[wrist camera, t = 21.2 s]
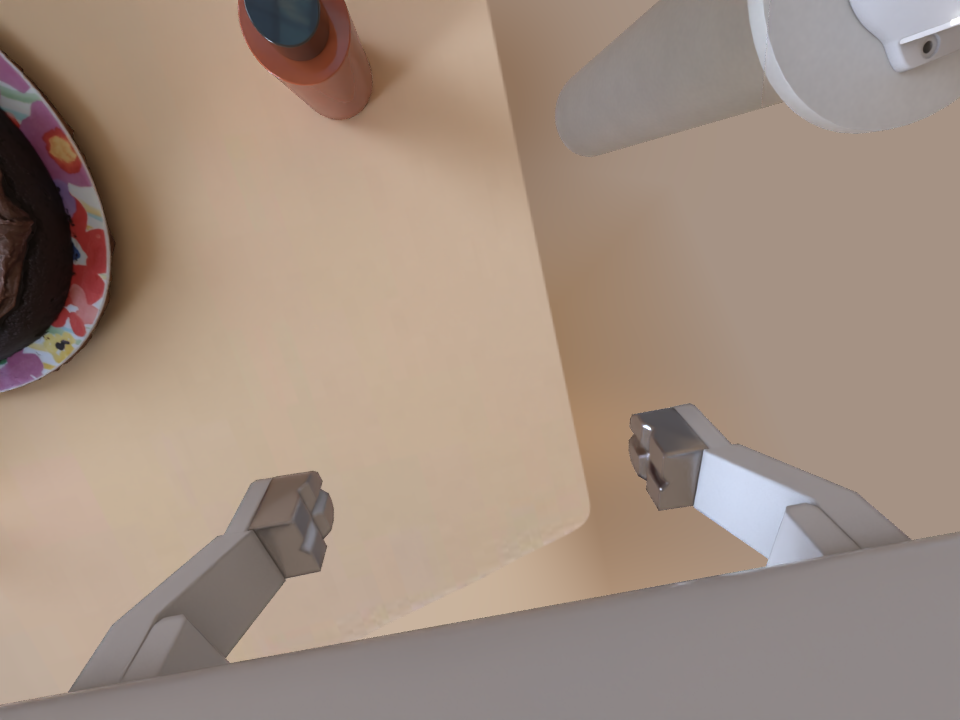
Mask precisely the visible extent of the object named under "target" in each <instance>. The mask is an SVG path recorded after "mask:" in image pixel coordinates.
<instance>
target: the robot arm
mask: <svg viewBox="0 0 960 720" xmlns="http://www.w3.org/2000/svg"><path fill="white" fill-rule="evenodd" d="M849 1H850V4H851V7H852V9H853V11H854V13H855V15H856V17H857V18H858V20H859V21H860V22H861V24H862V25H863V26H864V27H865V28H866V29H867V30H868V31H869V32H870V33H872V34H873V35H874V36H875V37H877V38H878V39H879V40H880V42H881V43H882V44H883V46H884V49H885V52H886V55H887V58H888V60H889V63H890V65H891V66H892V68H893V69H894V70H895V71H896V72H899V73H902V72H906V71H908V70H911V69H913V68H916V67H919V66H921V65H924V64H926V63H928V62H931V61H933V60H936V59H938V58H941V57H943V56H946V55H948V54H951V53H953V52H955V51H958V50H960V0H849ZM630 428H631V430H632V432H633V433H634V434H633V436H632V437H631V438H630V440H629V454H630V459H631V462H632V465H633V467H634V469H635V471H636V473H637V475H638V476H639V477H641V478H643V479H644V480H646V481H647V485H646V490H647V492H648V494H649V495H650V497H651V499H652V500H653V502H654V503H655V505H656V507H657V509H658V510H659V511H660V510H667V509H674V508H680V507H687V506H694V508H695V509H697V510H698V511H700V512H701V513H703V514H704V515H705V516H707V517H709V518H710V519H711V520H713V521H715V522H716V523H717V524H719V525H720V526H722V527H723V528H725V529H726V530H727V531H729V532H730V533H732V534H733V535H735V536H736V537H737V538H739V539H741V540H742V541H744V542H745V543H746V544H748V545H749V546H751V547H752V548H754V549H755V550H756V551H758V552H759V553H761V554H762V555H764V556H765V557H767V558H768V562H767V565H766V567H761V568H756V569H750V570H744V571H738V572H733V573H727V574H722V575H716V576H711V577H705V578H700V579H694V580H689V581H683V582H678V583H672V584H667V585H661V586H655V587H650V588H644V589H639V590H633V591H628V592H622V593H617V594H611V595H606V596H601V597H595V598H589V599H584V600H579V601H574V602H568V603H562V604H557V605H552V606H545V607H540V608H534V609H529V610H523V611H518V612H512V613H507V614H501V615H496V616H490V617H485V618H479V619H473V620H468V621H462V622H457V623H451V624H446V625H440V626H434V627H429V628H423V629H418V630H412V631H407V632H401V633H395V634H390V635H384V636H379V637H373V638H368V639H362V640H356V641H351V642H345V643H340V644H334V645H329V646H323V647H318V648H312V649H306V650H301V651H295V652H290V653H284V654H279V655H273V656H268V657H262V658H257V659H251V660H245V661H240V662H234V663H230V662H229V661H228V660H227V659H226V657H227V656H228V654H229V653H230V652H231V650H232V649H233V648H234V647H235V645H236V644H237V643H238V641H239V640H240V639H241V638H242V636H243V635H244V634H245V632H246V631H247V630H248V629H249V627H250V626H251V625H252V623H253V622H254V621H255V620H256V618H257V617H258V616H259V614H260V613H261V612H262V611H263V609H264V608H265V607H266V605H267V604H268V603H269V602H270V600H271V599H272V598H273V596H274V595H275V594H276V592H277V591H278V590H279V589H280V587H281V586H282V585H283V583H284V582H285V581H286V580H285V579H286V578H290V577H295V576H300V575H305V574H310V573H314V572H319V571H321V567H322V563H323V560H324V556H325V552H326V549H327V545H326V543H325V541H324V540H323V539H324V538H325V537H326V536H327V535H328V534H329V532H330V531H331V529H332V525H333V521H334V508H333V503H332V500H331V498H330V495H329V493H327V492H325V491H323V490H322V489H320V488H321V485H322V482H323V481H322V479H321V477H320V475H319V473H318V472H316V471H309V472H303V473H296V474H290V475H283V476H276V477H273V478H266V479H259V480H256V481H254V482H253V483H251V485H250V486H249V488H248V490H247V492H246V494H245V496H244V498H243V500H242V501H241V503H240V505H239V507H238V509H237V511H236V513H235V515H234V516H233V518H232V520H231V522H230V524H229V526H228V528H227V530H226V532H225V533H224V535H221V536H217V537H216V538H215V539H213V540H212V541H211V542H210V543H209V544H207V545H206V546H205V547H204V548H203V549H202V550H200V551H199V552H198V553H197V554H196V555H194V556H193V557H192V558H191V559H190V560H189V561H187V562H186V563H185V564H184V565H183V566H181V567H180V568H179V569H178V570H177V571H175V572H174V573H173V574H172V575H171V576H170V577H168V578H167V579H166V580H165V581H164V582H162V583H161V584H160V585H159V586H158V587H157V588H155V589H154V590H153V591H152V592H151V593H149V594H148V595H147V596H146V597H145V598H144V599H142V600H141V601H140V602H139V603H138V604H136V605H135V606H134V607H133V608H132V609H130V610H129V611H128V612H127V613H126V614H125V615H123V616H122V617H121V618H120V619H119V620H117V621H116V622H115V623H114V624H113V625H112V626H111V628H110V629H109V631H108V632H107V634H106V635H105V637H104V638H103V640H102V641H101V643H100V644H99V646H98V647H97V649H96V650H95V652H94V653H93V655H92V656H91V658H90V660H89V661H88V663H87V664H86V666H85V667H84V669H83V670H82V672H81V673H80V675H79V676H78V678H77V679H76V681H75V682H74V684H73V685H72V687H71V688H70V690H69V691H68V693H62V694H57V695H51V696H46V697H40V698H35V699H29V700H24V701H18V702H13V703H7V704H1V705H0V720H960V532H955V533H950V534H944V535H938V536H933V537H927V538H922V539H916V540H911V539H910V538H908V536H907V535H905V534H904V533H903V532H902V531H901V530H900V529H898V528H897V527H896V526H895V525H894V524H893V523H892V522H890V521H889V520H888V519H887V518H886V517H885V516H883V515H882V514H881V513H880V512H879V511H878V510H876V509H875V508H874V507H873V506H872V505H871V504H869V503H868V502H867V501H866V500H865V499H864V498H863V497H861V496H860V495H859V494H858V493H857V492H854V491H852V490H850V489H847V488H845V487H842V486H840V485H838V484H835V483H832V482H830V481H828V480H825V479H823V478H821V477H818V476H816V475H813V474H811V473H808V472H806V471H804V470H801V469H798V468H796V467H794V466H791V465H789V464H787V463H784V462H782V461H779V460H777V459H774V458H772V457H770V456H767V455H765V454H762V453H760V452H757V451H755V450H752V449H750V448H748V447H745V446H743V445H740V444H733V445H732V444H731V443H730V442H729V441H728V440H727V439H726V438H725V437H724V436H723V435H722V433H721V432H720V431H719V430H718V429H717V428H716V427H715V426H714V425H713V424H712V423H711V422H710V421H709V420H708V419H707V418H706V417H705V416H704V415H703V414H702V413H701V412H700V411H699V410H698V408H697V407H696V406H695V405H693V404H690V403H689V404H684V405H679V406H674V407H670V408H665V409H660V410H654V411H649V412H643V413H638V414H633V415H632V416H631V418H630Z"/></svg>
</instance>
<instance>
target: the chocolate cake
mask: <svg viewBox="0 0 960 720" xmlns="http://www.w3.org/2000/svg"><path fill="white" fill-rule="evenodd" d="M73 132H74V130H73V129H72V128H71V127H70V126H69V125H67V124H66V122H65V121H64V119H63V118H62V116H61V115H60V114H59V112H58V111H57V110H56V108H55V107H54V106H53V105H52V103H51V102H50V101H49V100H48V99H47V97H46V96H45V95H44V94H43V93H42V92H41V91H40V89H39V88H38V87H37V86H36V85H35V84H34V82H33V81H31V80H30V79H29V78H28V77H27V76H26V75H25V74H24V73H23V69H22V68H21V67H20V66H19V65H17V64H16V63H15V62H13V61H12V60H11V59H10V58H9V57H8V56H7V55H6V53H4V52H3V51H1V50H0V392H5V391H10V390H12V389H14V388H18V387H22V386H25V385H27V384H29V383H31V382H33V381H36V380H39V379H41V378H42V377H44V376H46V375H47V374H49V373H51V372H54V371H58V370H59V369H60V367H61V366H62V365H63V364H65V363H68V362H69V361H70V360H71V359H72V358H73V357H74V356H75V355H76V354H77V353H79V351H80V350H81V349H83V348H84V347H85V345H86V344H87V342H88V341H89V340H90V339H91V338H92V333H93V331H94V330H95V329H96V327H97V325H98V323H99V321H100V318H101V317H102V315H103V314H104V311H105V309H106V306H107V304H108V303H109V297H110V293H109V287H110V281H111V280H112V274H111V266H112V261H111V257H112V254H113V250H114V246H115V241H114V239H113V237H112V235H111V232H110V230H109V228H108V226H107V222H106V218H105V215H104V211H103V206H102V203H101V200H100V197H99V194H98V191H97V189H96V186H95V184H94V182H93V178H92V175H91V172H90V169H89V167H88V166H87V165H86V159H85V156H84V154H82V153H81V152H80V151H79V147H78V145H77V144H76V143H75V142H74V141H73V139H72V137H73Z"/></svg>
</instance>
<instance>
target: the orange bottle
mask: <svg viewBox="0 0 960 720" xmlns="http://www.w3.org/2000/svg"><path fill="white" fill-rule="evenodd" d="M238 15H239V22H240V26H241V30H242V33H243V36H244V38H245V41H246V43H247V45H248V47H249V49H250V50H251V52H252V53H253V55H254V56H255V58H256V59H257V60H258V61H259V63H260V64H261V65H262V66H263V67H264V68H265V69H267V70H268V71H269V72H270V73H271V74H272V75H274V76H275V77H276V78H277V79H278V80H279V81H281V82H282V83H283V84H284V85H285V86H286V87H288V88H289V89H290V90H291V91H292V92H293V93H295V94H296V95H297V96H298V97H299V98H300V99H302V100H303V101H304V102H305V103H306V104H307V105H309V106H310V107H311V108H312V109H313V110H315V111H316V112H317V113H319V114H320V115H322V116H324V117H327V118H330V119H335V120H343V119H348V118H351V117H353V116H355V115H357V114H358V113H359V112H361V111H362V110H363V109H364V107H365V106H366V104H367V103H368V101H369V99H370V96H371V92H372V84H373V80H372V72H371V68H370V64H369V62H368V59H367V57H366V54H365V52H364V49H363V47H362V44H361V41H360V39H359V36H358V34H357V31H356V29H355V26H354V24H353V21H352V19H351V16H350V14H349V11H348V9H347V6H346V4H345V1H344V0H238Z"/></svg>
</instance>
